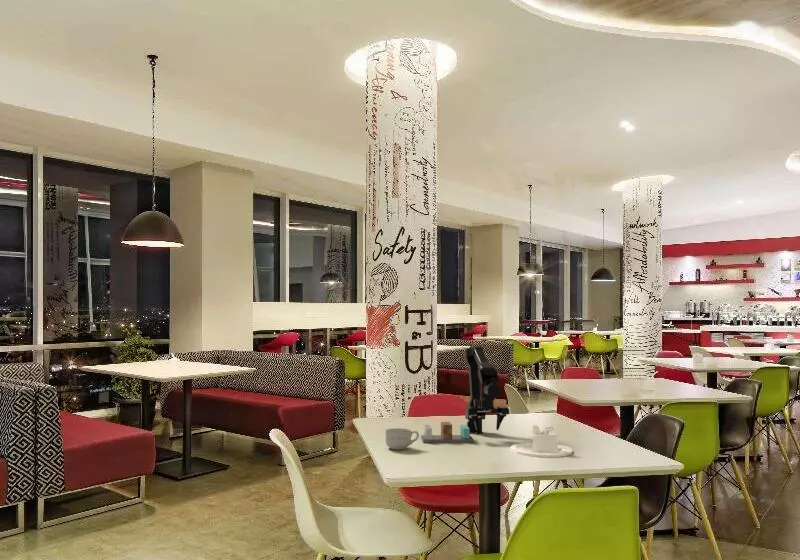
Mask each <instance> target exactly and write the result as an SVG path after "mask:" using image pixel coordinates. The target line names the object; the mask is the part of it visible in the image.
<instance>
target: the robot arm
mask: <svg viewBox="0 0 800 560" xmlns="http://www.w3.org/2000/svg"><path fill="white" fill-rule="evenodd" d="M462 355H463V359H464V363H465V365H466V366H467V368H468V375H469V377H468V378H469V379H468V380H469V392H470V395H469V396H470V397H469V398H470V399H469V401H468V402H467V406H466V407H465V410H464V411H465V413H464V415H465V416H464V419H465V420H467V421H466V425H467V426H468V427H469V428H470V434H484V433H483V420H486V414H495V413H496V425H495V426H496V431H499V430H500V426H501V424H502V423H503V420H504V419H505V417H507V415H510V409H509V407H507V406H497V407H496V408H495V405H494V403H495V399H496V398H498V397H499V396H500V394H501V388H500V386H499V385H498V383H500V382H499V379H500V378H499V374H498V371H497V369H496V368H495V365H493V364H492V363H490V362H489V361H488V358H487V356H486V354H485V352H484V348H483V347H482V346H472V347H470V348H466V349H465V350H464V351H463V354H462Z"/></svg>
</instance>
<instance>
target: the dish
mask: <svg viewBox="0 0 800 560" xmlns="http://www.w3.org/2000/svg"><path fill="white" fill-rule="evenodd" d="M553 431H555V429H554V427H553V426H547V427H545V428H540V427H539V426H538V425H536V424H534V425H532V442H521V443H515V444H512V445H511V446H510V447H509V449H510V451H511V452H512V453H515V454H517V455H520V456H521V455H522V456H526V457H532V458H533V457H534V458H546V457H550V458H562V457H561V456H564V457H568V456H570V455H569V454H571V455H573V453H572V452H573V449H572V448H571V447H570V446H566V445H562V444H559V434H556V433H551V432H553ZM567 455H568V456H567Z"/></svg>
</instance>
